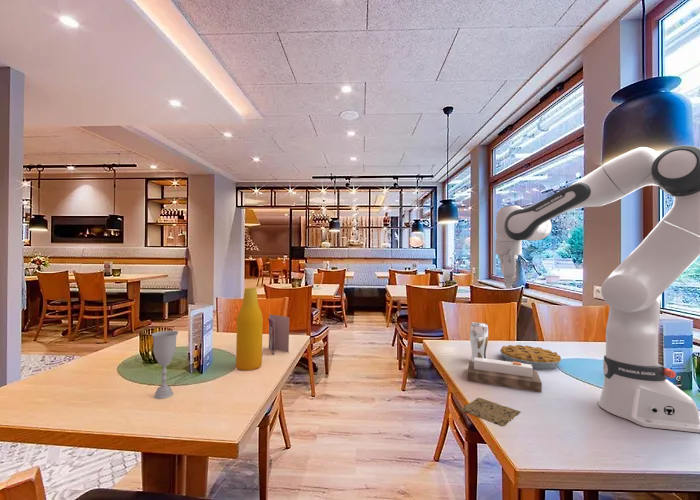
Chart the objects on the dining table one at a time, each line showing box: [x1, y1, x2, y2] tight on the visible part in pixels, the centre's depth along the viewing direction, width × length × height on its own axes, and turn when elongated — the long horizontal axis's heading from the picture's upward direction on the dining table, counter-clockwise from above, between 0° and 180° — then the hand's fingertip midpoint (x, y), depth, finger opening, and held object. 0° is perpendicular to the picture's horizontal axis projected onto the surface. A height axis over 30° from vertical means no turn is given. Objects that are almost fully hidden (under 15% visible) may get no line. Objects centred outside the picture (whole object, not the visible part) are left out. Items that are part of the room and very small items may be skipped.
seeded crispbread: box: [459, 397, 521, 427], centre depth 90 cm, size 12×12×1 cm
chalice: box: [151, 330, 179, 400], centre depth 96 cm, size 7×7×18 cm
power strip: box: [474, 357, 534, 377], centre depth 113 cm, size 18×4×6 cm, turn 67°
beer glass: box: [469, 322, 489, 362], centre depth 133 cm, size 7×7×15 cm
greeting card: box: [267, 314, 290, 356], centre depth 142 cm, size 11×7×15 cm, turn 25°
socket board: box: [466, 361, 543, 393], centre depth 113 cm, size 22×12×3 cm, turn 67°
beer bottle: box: [235, 287, 264, 372], centre depth 122 cm, size 9×9×29 cm
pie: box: [499, 344, 562, 371], centre depth 134 cm, size 22×22×5 cm
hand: (507, 287), depth 122 cm, fingers open, 8 cm apart
